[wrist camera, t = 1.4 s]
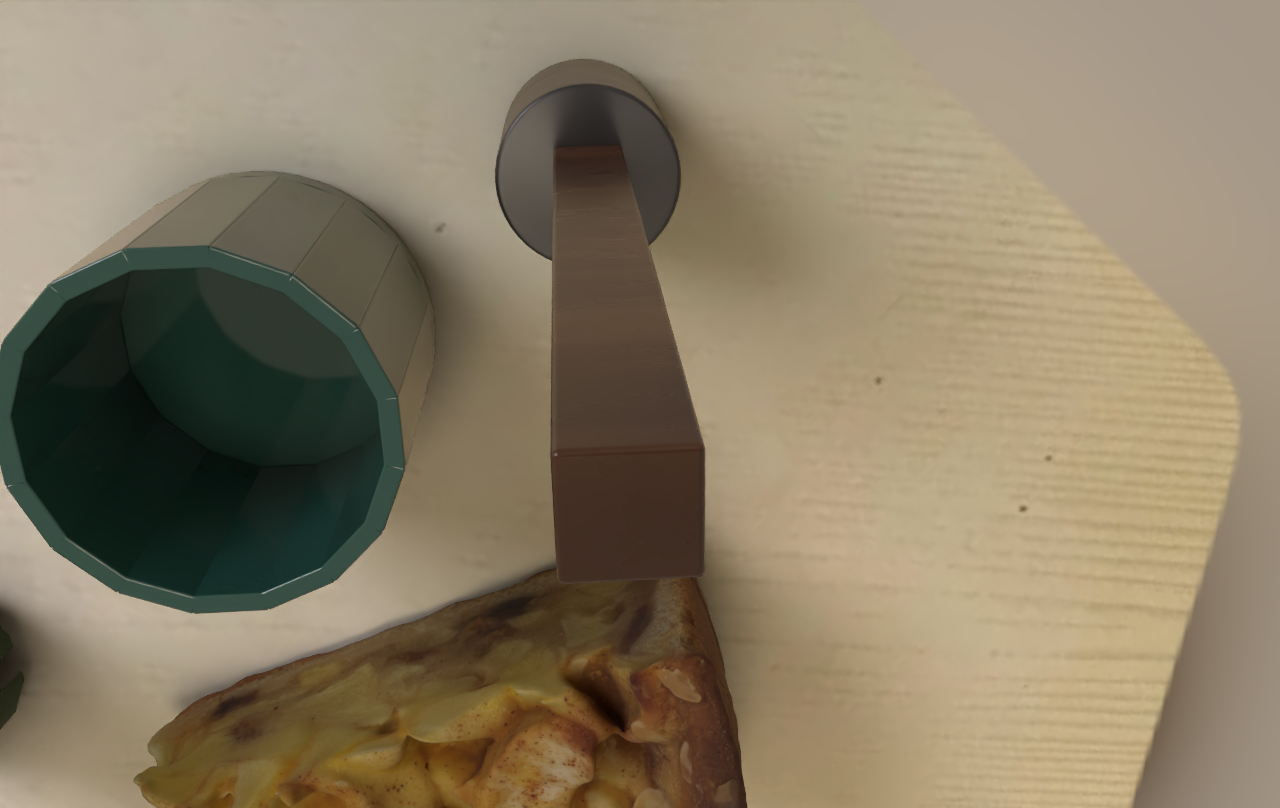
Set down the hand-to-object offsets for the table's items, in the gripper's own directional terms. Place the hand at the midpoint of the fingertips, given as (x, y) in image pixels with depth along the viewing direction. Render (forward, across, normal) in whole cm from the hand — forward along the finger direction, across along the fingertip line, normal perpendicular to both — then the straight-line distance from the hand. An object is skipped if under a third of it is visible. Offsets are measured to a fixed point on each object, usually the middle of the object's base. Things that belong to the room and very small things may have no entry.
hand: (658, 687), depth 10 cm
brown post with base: (+25, 0, 0) cm, 25 cm away
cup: (+25, -9, -5) cm, 27 cm away
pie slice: (+25, -5, -17) cm, 31 cm away
